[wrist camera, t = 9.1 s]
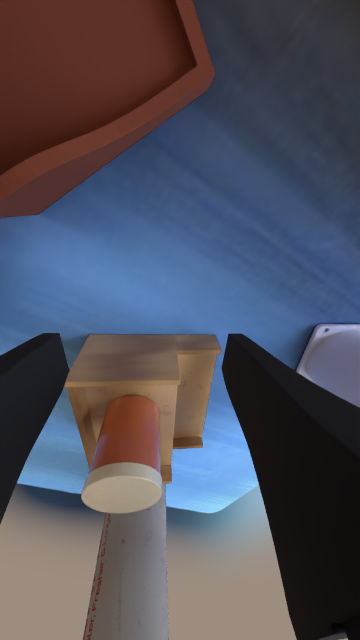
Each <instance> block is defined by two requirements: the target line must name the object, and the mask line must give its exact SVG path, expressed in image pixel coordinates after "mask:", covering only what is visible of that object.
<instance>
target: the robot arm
mask: <svg viewBox="0 0 360 640" xmlns="http://www.w3.org/2000/svg"><path fill="white" fill-rule="evenodd" d="M68 373H69V368H68V364H67V360H66V356H65V353H64V349H63V345H62V342H61V338H60V334H59V333H43V334H41V335H39V336H36V337H34V338H32V339H31V340H29V341H27V342H25V343H23V344H21V345H19V346H17V347H16V348H14V349H12V350H10V351H8V352H6V353H5V354H3V355H1V356H0V523H1V521H2V518H3V516H4V513H5V511H6V508H7V505H8V503H9V500H10V498H11V495H12V493H13V490H14V488H15V485H16V483H17V481H18V479H19V476H20V474H21V471H22V469H23V467H24V464H25V462H26V460H27V458H28V456H29V454H30V452H31V450H32V448H33V446H34V444H35V442H36V440H37V438H38V436H39V434H40V433H41V431H42V429H43V427H44V425H45V423H46V421H47V419H48V418H49V416H50V414H51V412H52V410H53V408H54V406H55V404H56V402H57V400H58V399H59V397H60V395H61V393H62V390H63V387H64V385H65V382H66V379H67V376H68ZM222 373H223V377H224V381H225V385H226V389H227V392H228V394H229V397H230V400H231V402H232V405H233V408H234V410H235V413H236V415H237V418H238V420H239V423H240V426H241V428H242V431H243V433H244V436H245V439H246V441H247V444H248V447H249V450H250V454H251V457H252V461H253V464H254V468H255V471H256V475H257V479H258V482H259V486H260V490H261V494H262V497H263V501H264V505H265V509H266V513H267V517H268V521H269V525H270V529H271V534H272V538H273V542H274V546H275V550H276V555H277V560H278V564H279V569H280V573H281V578H282V582H283V587H284V592H285V597H286V601H287V606H288V611H289V615H290V619H291V622H292V625H293V629H294V631H295V635H296V638H297V640H338V639H344V638H348V640H360V325H357V324H319V325H317V326H316V327H315V329H314V331H313V334H312V336H311V338H310V340H309V343H308V345H307V347H306V350H305V352H304V354H303V356H302V359H301V361H300V363H299V365H298V368H297V370H296V371H295V370H293V369H291V368H290V367H288V366H287V365H286V364H284V363H283V362H281V361H280V360H278V359H277V358H275V357H274V356H273V355H271V354H270V353H268V352H267V351H266V350H264V349H263V348H262V347H260V346H259V345H258V344H256V343H255V342H253V341H252V340H251V339H249V338H248V337H246V336H245V335H243V334H228V339H227V344H226V349H225V354H224V359H223V364H222Z"/></svg>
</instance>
